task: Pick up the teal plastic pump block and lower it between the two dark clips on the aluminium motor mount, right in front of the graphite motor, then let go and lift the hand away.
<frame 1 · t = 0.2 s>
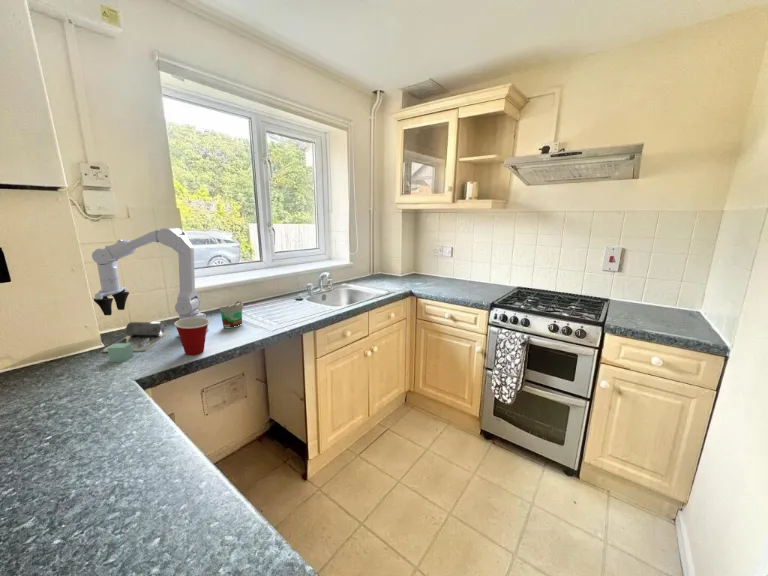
hand: (114, 312, 127), 10 cm above the countertop, tool pointing down, fingers open, 7 cm apart
motor mount: (132, 346, 119), on the countertop
plastic cup: (195, 352, 116), on the countertop
food container: (236, 325, 145), on the countertop
pump block: (121, 359, 109), on the countertop
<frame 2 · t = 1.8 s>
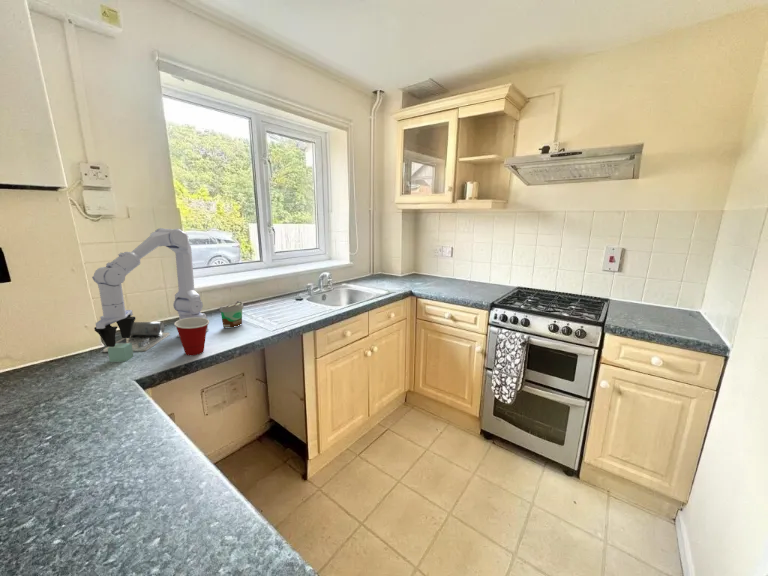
hand: (118, 342, 107), 6 cm above the countertop, tool pointing down, fingers open, 7 cm apart
nothing on the countertop moved.
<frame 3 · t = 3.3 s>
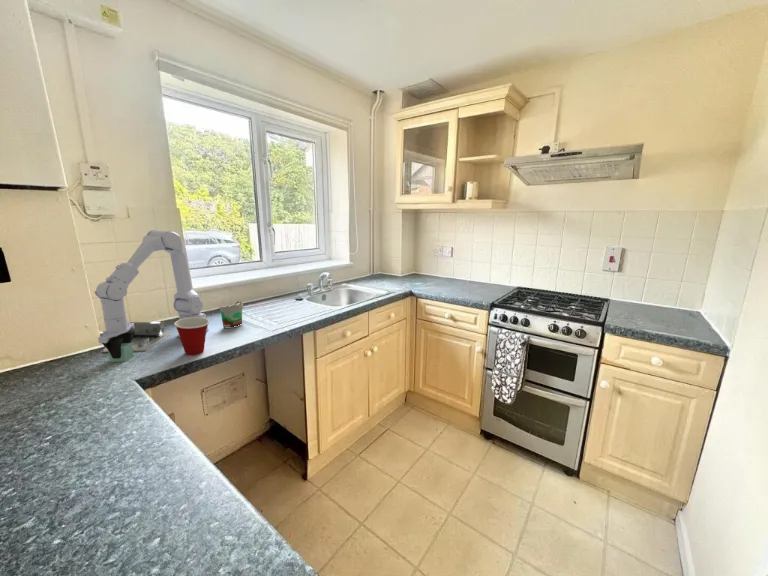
hand: (121, 355, 108), 1 cm above the countertop, tool pointing down, fingers closed on pump block, 4 cm apart
pump block: (121, 359, 109), on the countertop, touching gripper
everything else where it was.
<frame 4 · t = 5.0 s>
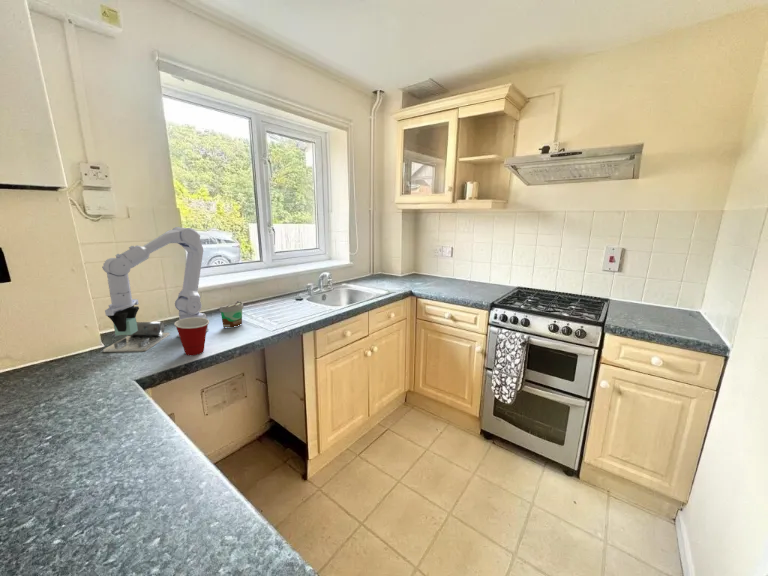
hand: (126, 329, 114), 8 cm above the countertop, tool pointing down, fingers closed on pump block, 4 cm apart
pump block: (126, 333, 114), point 7 cm above the countertop, touching gripper
everything else where it was.
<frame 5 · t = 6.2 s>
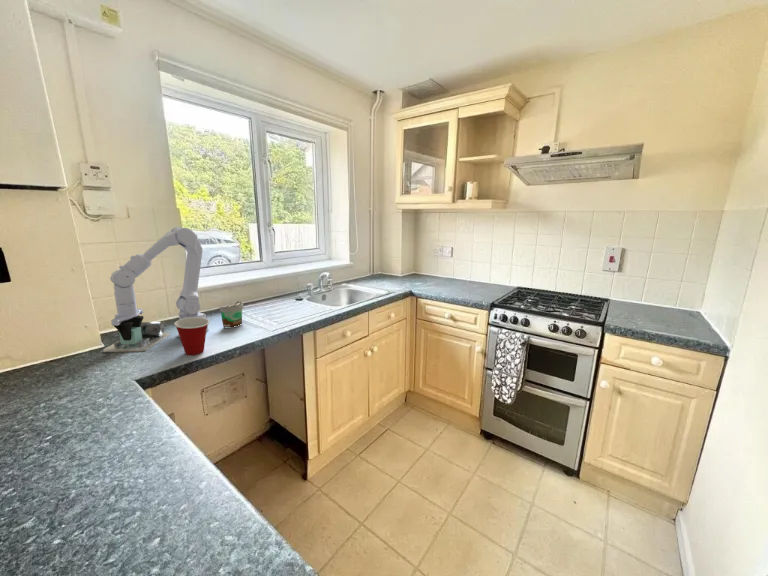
hand: (131, 337, 118), 4 cm above the countertop, tool pointing down, fingers closed on pump block, 4 cm apart
pump block: (131, 341, 119), point 2 cm above the countertop, touching gripper
everything else where it was.
when the fingers open (3 cm above the countertop, at t = 7.0 s): pump block stays where it is, resting on motor mount.
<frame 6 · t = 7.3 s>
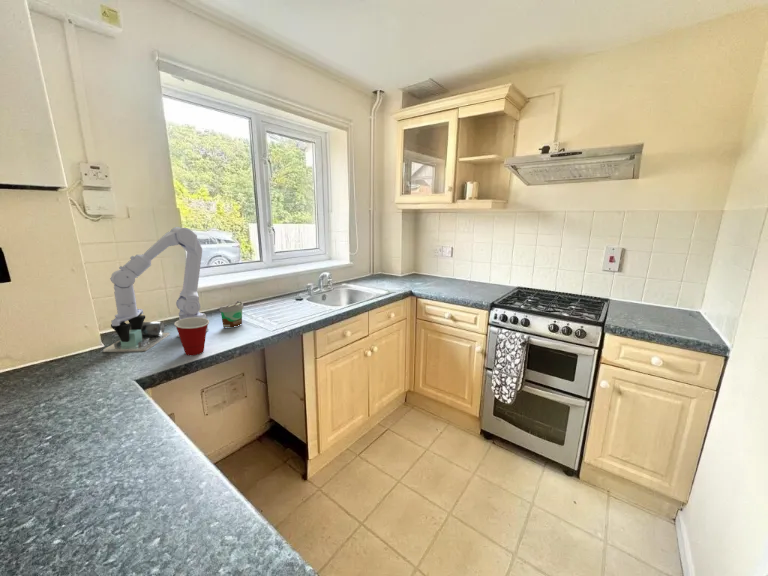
hand: (131, 338, 118), 3 cm above the countertop, tool pointing down, fingers open, 6 cm apart
pump block: (132, 344, 119), point 1 cm above the countertop, touching motor mount
everything else where it was.
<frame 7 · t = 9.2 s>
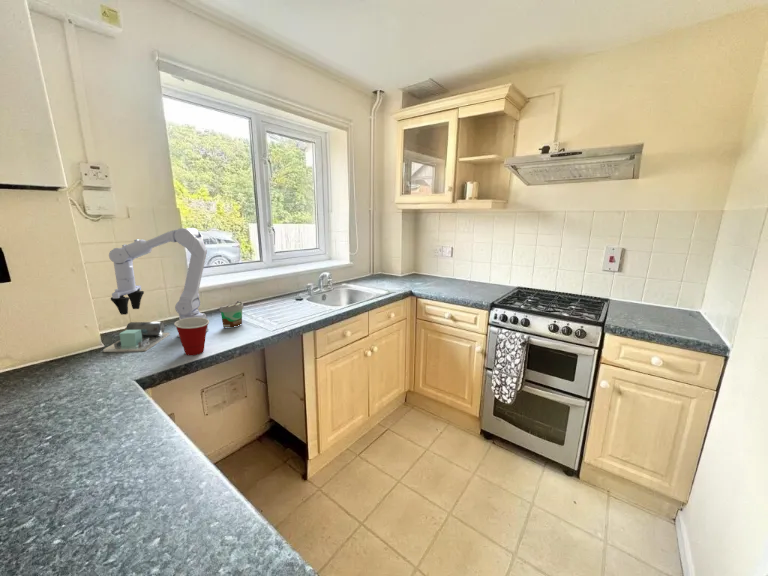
hand: (130, 311, 127), 10 cm above the countertop, tool pointing down, fingers open, 7 cm apart
nothing on the countertop moved.
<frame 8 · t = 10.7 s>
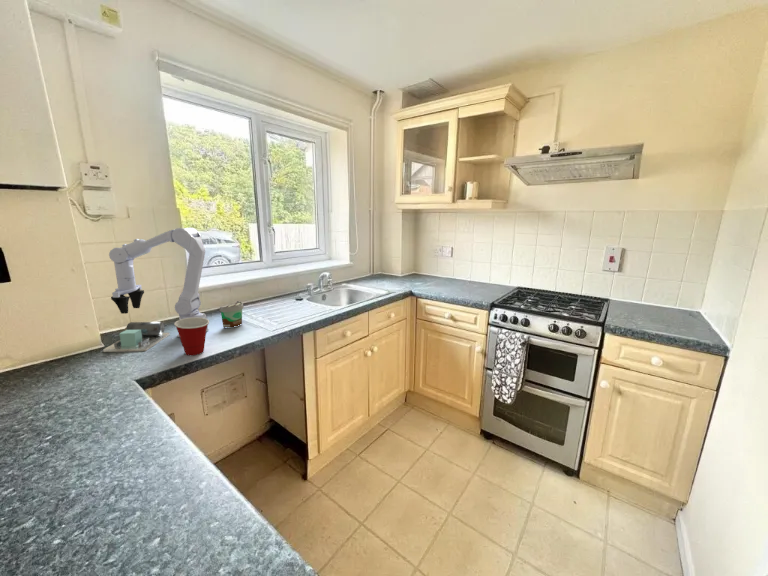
hand: (130, 310, 129), 10 cm above the countertop, tool pointing down, fingers open, 7 cm apart
nothing on the countertop moved.
at the end: pump block 0.0 cm off-centre on the motor mount, point 1.0 cm above the motor mount's base; pump block tilted 0°; the gripper is holding nothing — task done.
